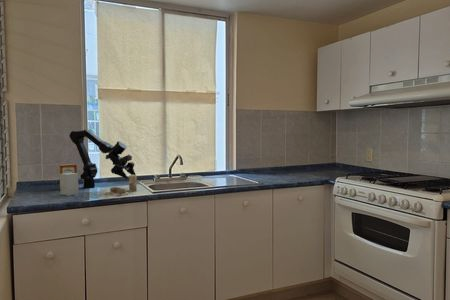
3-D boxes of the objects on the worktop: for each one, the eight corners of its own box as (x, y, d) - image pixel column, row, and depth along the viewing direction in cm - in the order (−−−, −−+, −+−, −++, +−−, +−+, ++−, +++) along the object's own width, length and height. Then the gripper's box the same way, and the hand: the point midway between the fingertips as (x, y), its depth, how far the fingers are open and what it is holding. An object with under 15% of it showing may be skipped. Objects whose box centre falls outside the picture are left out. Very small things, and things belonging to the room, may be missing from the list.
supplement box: (79, 193, 206) (78, 173, 205) (67, 195, 200) (67, 174, 199) (71, 192, 210) (70, 172, 209) (60, 194, 204) (59, 173, 203)
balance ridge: (106, 193, 206) (106, 188, 206) (118, 191, 213) (117, 186, 213) (117, 196, 200) (117, 190, 200) (129, 194, 206) (129, 188, 206)
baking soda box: (60, 190, 218) (60, 165, 217) (60, 188, 223) (59, 164, 222) (76, 188, 222) (76, 164, 221) (75, 187, 228) (75, 163, 227)
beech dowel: (130, 191, 214) (130, 175, 213) (128, 190, 218) (128, 175, 217) (137, 191, 217) (137, 175, 216) (135, 189, 220) (135, 174, 220)
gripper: (114, 151, 209) (130, 170, 206) (131, 149, 226) (146, 167, 224) (104, 164, 212) (119, 182, 209) (122, 161, 229) (136, 178, 227)
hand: (131, 177), depth 217 cm, fingers open, 9 cm apart
